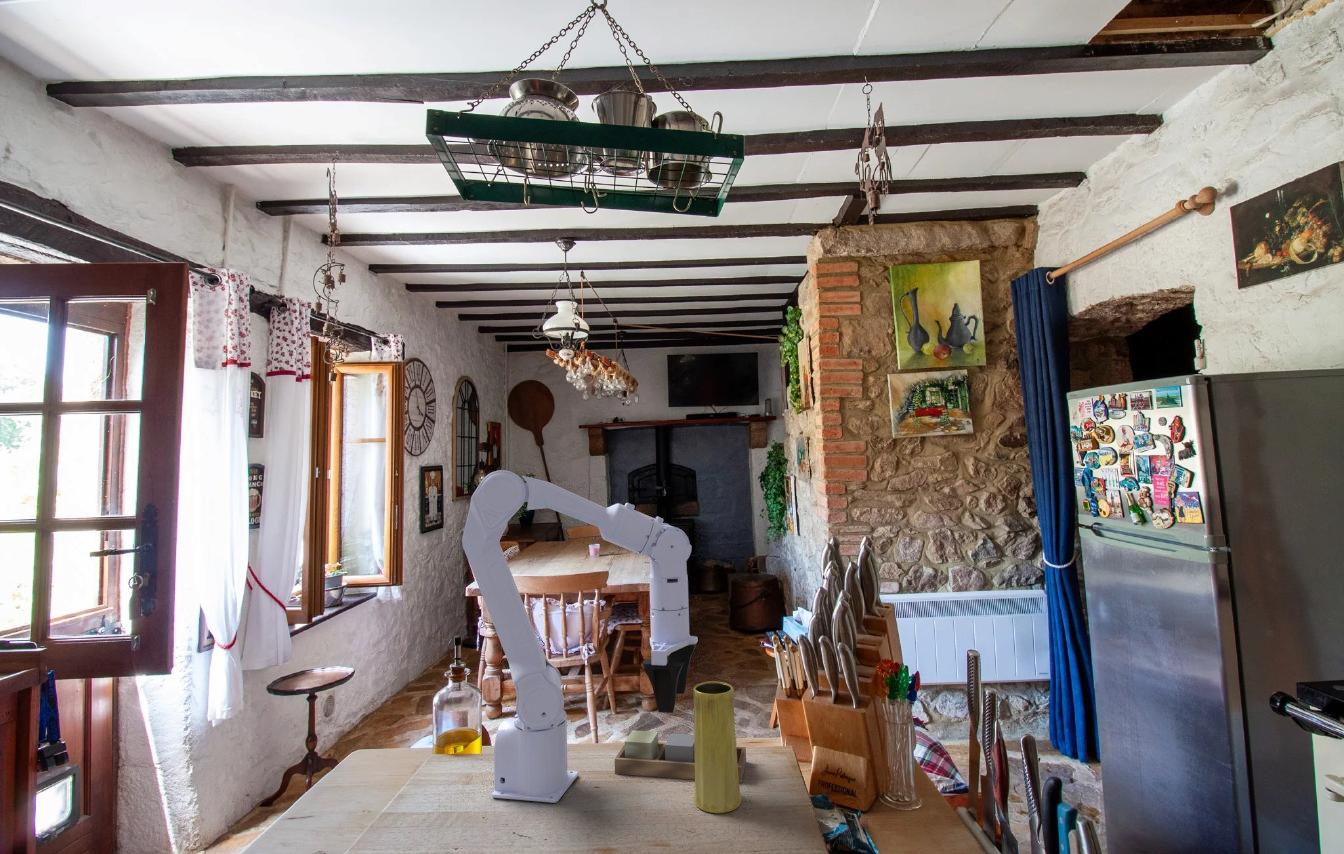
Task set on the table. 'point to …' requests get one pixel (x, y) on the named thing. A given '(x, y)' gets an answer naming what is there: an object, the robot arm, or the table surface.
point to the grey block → (680, 748)
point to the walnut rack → (658, 758)
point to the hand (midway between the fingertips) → (672, 701)
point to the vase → (715, 748)
